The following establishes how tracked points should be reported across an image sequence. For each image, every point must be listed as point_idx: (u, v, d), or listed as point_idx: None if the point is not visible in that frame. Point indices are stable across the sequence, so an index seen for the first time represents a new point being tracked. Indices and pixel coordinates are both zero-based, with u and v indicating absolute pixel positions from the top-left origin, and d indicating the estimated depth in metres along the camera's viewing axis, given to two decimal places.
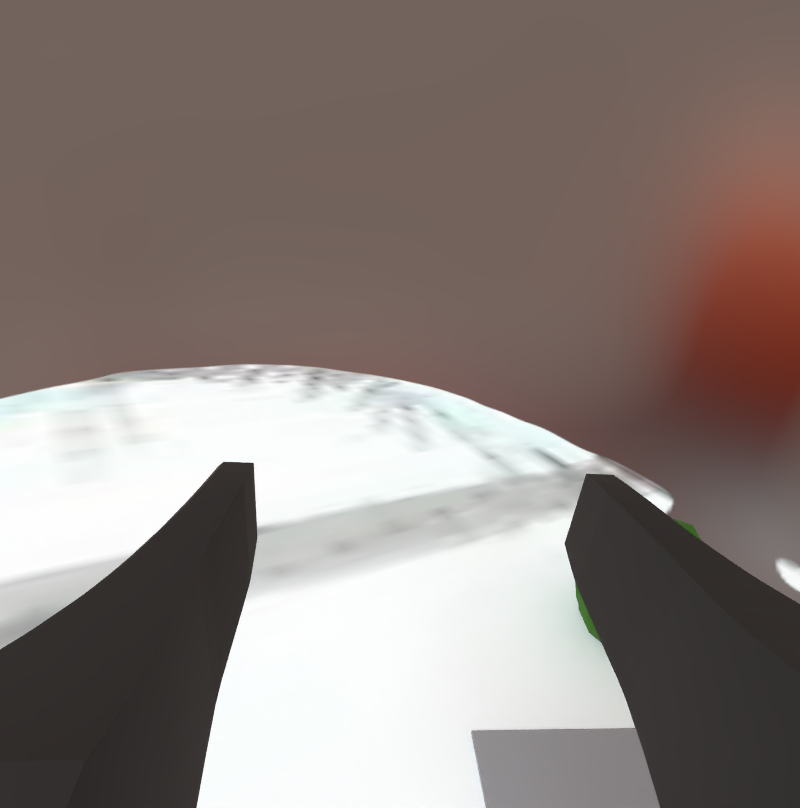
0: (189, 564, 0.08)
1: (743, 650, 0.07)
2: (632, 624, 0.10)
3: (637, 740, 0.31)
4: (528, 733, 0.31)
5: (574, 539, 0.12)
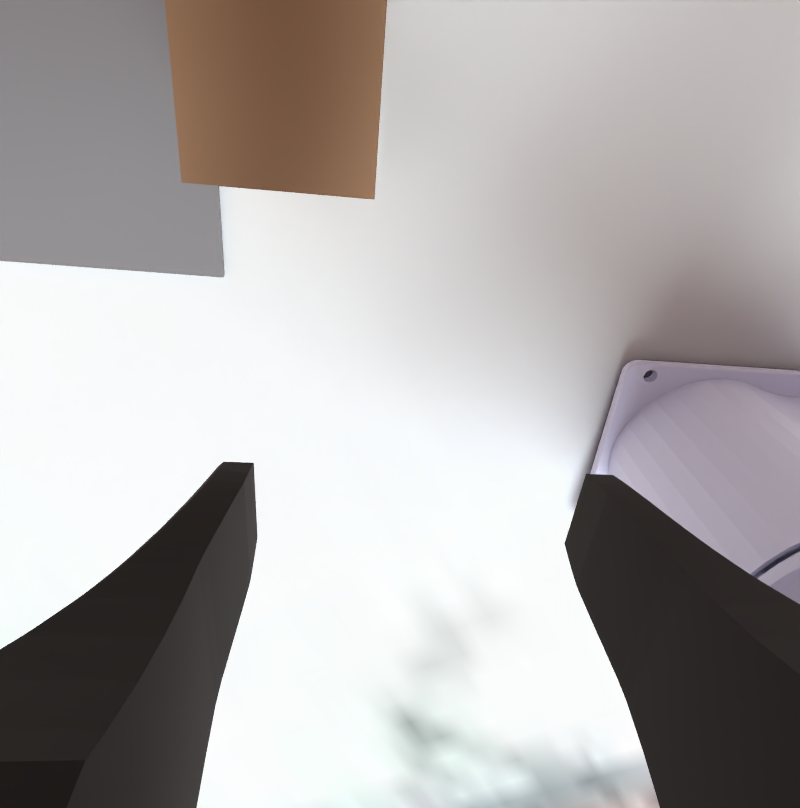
0: (189, 564, 0.08)
1: (743, 651, 0.07)
2: (632, 624, 0.10)
3: None
4: None
5: (574, 539, 0.12)
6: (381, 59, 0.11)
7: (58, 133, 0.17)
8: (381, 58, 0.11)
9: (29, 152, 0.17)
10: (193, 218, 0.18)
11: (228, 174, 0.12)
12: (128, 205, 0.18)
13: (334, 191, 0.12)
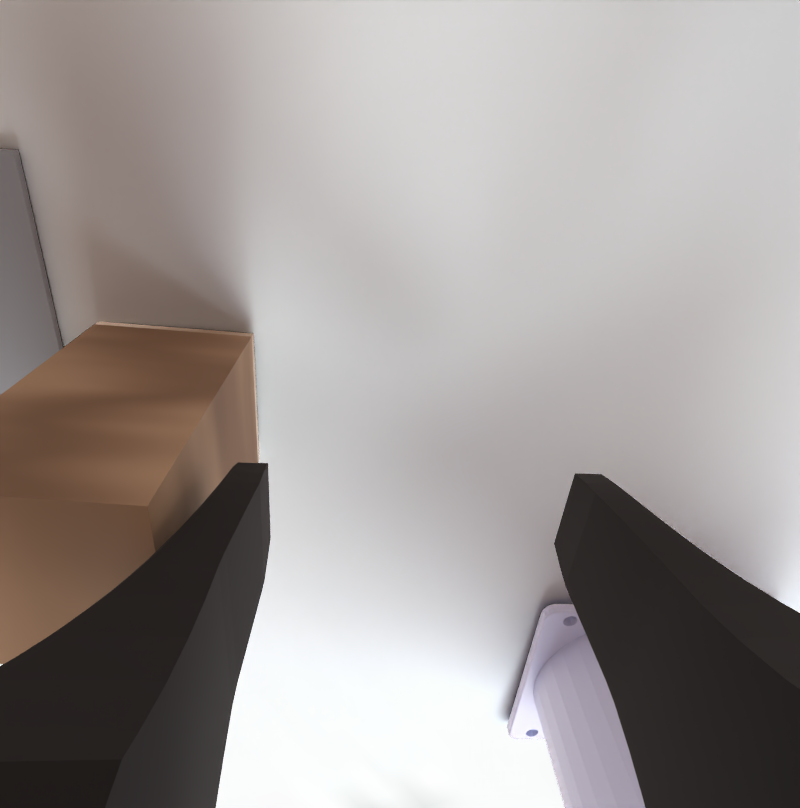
0: (209, 564, 0.08)
1: (726, 650, 0.07)
2: (619, 624, 0.10)
3: None
4: None
5: (563, 539, 0.12)
6: None
7: None
8: None
9: None
10: None
11: (7, 655, 0.10)
12: None
13: None
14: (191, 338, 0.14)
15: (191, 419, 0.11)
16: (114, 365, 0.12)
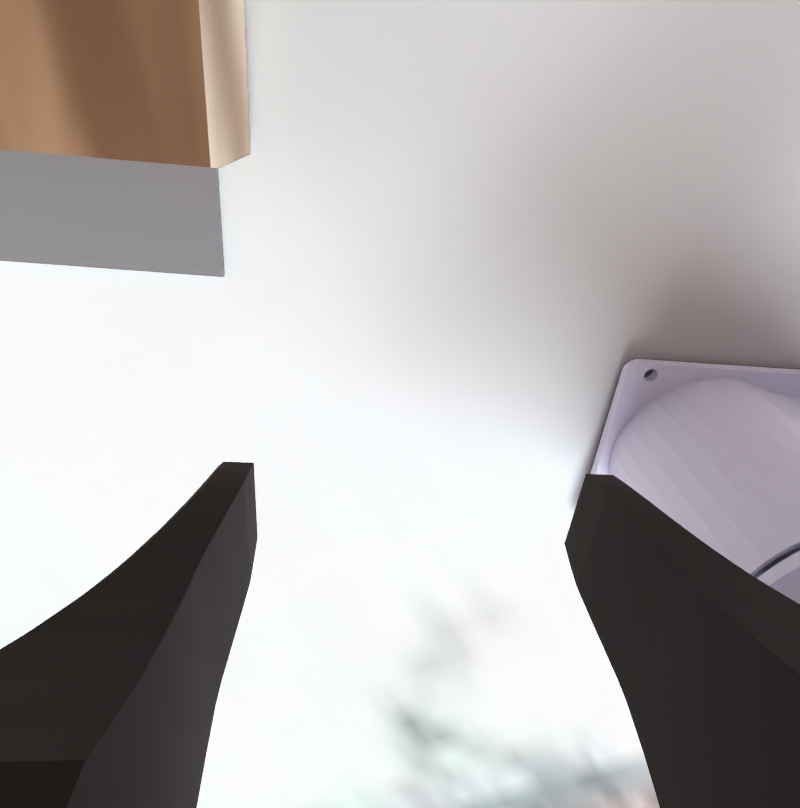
0: (189, 564, 0.08)
1: (743, 650, 0.07)
2: (632, 624, 0.10)
3: None
4: None
5: (574, 539, 0.12)
6: None
7: None
8: None
9: (29, 152, 0.17)
10: (193, 218, 0.18)
11: None
12: (128, 205, 0.18)
13: None
14: None
15: None
16: None
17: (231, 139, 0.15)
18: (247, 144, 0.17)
